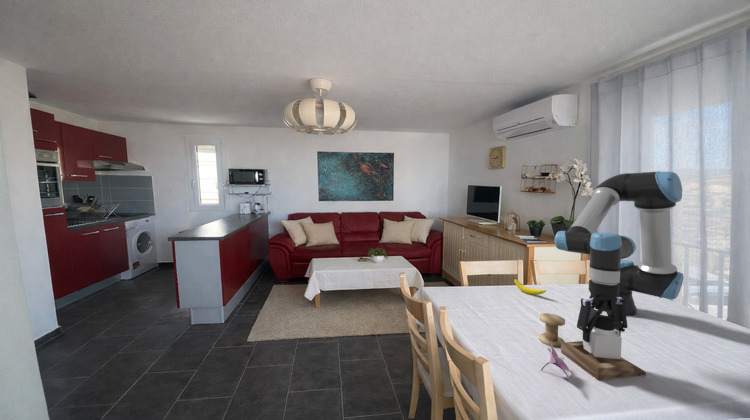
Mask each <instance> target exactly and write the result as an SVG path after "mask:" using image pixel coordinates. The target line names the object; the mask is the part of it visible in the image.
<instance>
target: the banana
mask: <svg viewBox="0 0 750 420" xmlns="http://www.w3.org/2000/svg"><path fill="white" fill-rule="evenodd" d="M512 279H513V281H514V284H515V286H516V287H517V289H519V290H520V291H521V292H523V293H524V294H529V295H542V294H545V293H546V292H547V290H546V289H538V288H531V287H527V286H525V285H523V284H522V283H521V282H520V281H519V280H517V278H515V277H513V278H512Z"/></svg>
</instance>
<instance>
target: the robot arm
mask: <svg viewBox="0 0 750 420" xmlns="http://www.w3.org/2000/svg"><path fill="white" fill-rule="evenodd" d="M590 196H591V198H590V199H589V201H588V203H586V205H585V206H584V208H583V209H582V211H581V212H580V213H579V214H578V216H577V218H576V219H575V221H574V222H572V225H570V227H569V229H568V230H567V231H566V230H559V231H557V232H556V234H555V236H554V245H555V247H556V248H557V249H558V250H560V251H565V252H569V253H575V254H585V255H589V275H588V278H589V280H588V291H589V292H590V296H589V298H586V299H585V298H580V309H579V314H578V317H577V323H576V328H577V329H578V330H581V331H582V341H583V340H584V349H585V350H587V351H588V352H590V353H593V341H594V333H592V329H593V327H594V325H595V323H596V321H597V319H598V316H599V315H600V314H602V313H603V312H606V315H607V316H609V317H611V318H613V319H614V321H615V329H614V332H615V333H616V334H617V335H619V336H620V337H621V334H622V333H625V332H626V331H625V329H627V328H628V327H629V325H628V320H627V316H635V315H637V312H638V311H637V310H638V309H637V306H636V305H635V300H634V297H633V292H635V293H639V294H644V295H648V296H653V297H657V298H660V299H662V298H663V299H667V300H675V299H677V298H678V296H679V294H680V291H681V289H682V286H683V282H684V273H683V272H680V271H678V268H677V266H676V265H675V264H673V263H672V239H671V238H672V237H671V236H672V234H671V233H672V232H671V229H672V228H671V210H672V209H673V208H674V207H676V206H677V203H679V202H681V200H682V197H683V187H682V182H681V179H680V176H679V175H678V174H677V173H676V172H674V171H647V172H645V171H644V172H633V173H632V172H630V173H619V174H616V175H614V176H611V177H608V178H607V179H605V180H603V181H602V182H601V183H599V184H598V185H597V186H595V188H594V189H593V190H592V192H591V195H590ZM619 202H633V203H634V206H633V207H635V208H636V209H637V210H639V221H640V222H639V223H640V225H639V226H640V243H641V261H639V262H638V263H637V265H635V263H634V261H632V260H629V259H628V258H629V257H631V256H632V255H633V254H634V253H635V252H636V250H637V246H636V243H635V241H634V240H633V238H630V237H628V236H626V235H620V234H618V233H612V232H601V231H600V232H596V231H597V230H598V229H599V227H600V225H601V224H602V222H603V221H604V220H605V218H606V216H607V215H608V213H609V211H610V210H611V209H612V207H614V206H616V205H617V204H619ZM587 327H588V328H587ZM621 332H622V333H621ZM621 338H622V337H621Z"/></svg>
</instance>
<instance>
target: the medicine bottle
mask: <svg viewBox="0 0 750 420" xmlns="http://www.w3.org/2000/svg"><path fill="white" fill-rule="evenodd" d="M587 328H588V327H587ZM614 329H615V321H614V319H613V318H611V317H609V316H608V315H607V314H600V315H599V316H598V319H597V321H596V323H595V325H594V327H593V329H592V333H594V341H593V353H592V354H593V355H594V356H595V357H600V358H611V359H621V357H622V356H621V355H622V337H620V336H619V335H617V334H616V333H615V332H614ZM582 341H583V345H584V340H583V339H582Z"/></svg>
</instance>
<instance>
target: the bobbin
mask: <svg viewBox="0 0 750 420" xmlns="http://www.w3.org/2000/svg"><path fill="white" fill-rule="evenodd" d="M538 318H539V320H540V321H541V322H542V323H545V325H544V326H545V333H540V334H539V335H538V339H539V341H540V342H541V343H542V344H543V345H546V346H549V347H551V346H550V343H549V341H550V342H551V344H552V346H553V348H561V343H564V342H565V340H564V339H563V338H562V337H560V336H559V327H562V326H563V327H564V326H565V324H566V319H565V318H564V317H562V316H560V315H558V314H554V313H549V312H545V313H543V312H542V313H540V314H539V317H538ZM546 337H547V338H548V339H549V341H548V340H547V338H546Z"/></svg>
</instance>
